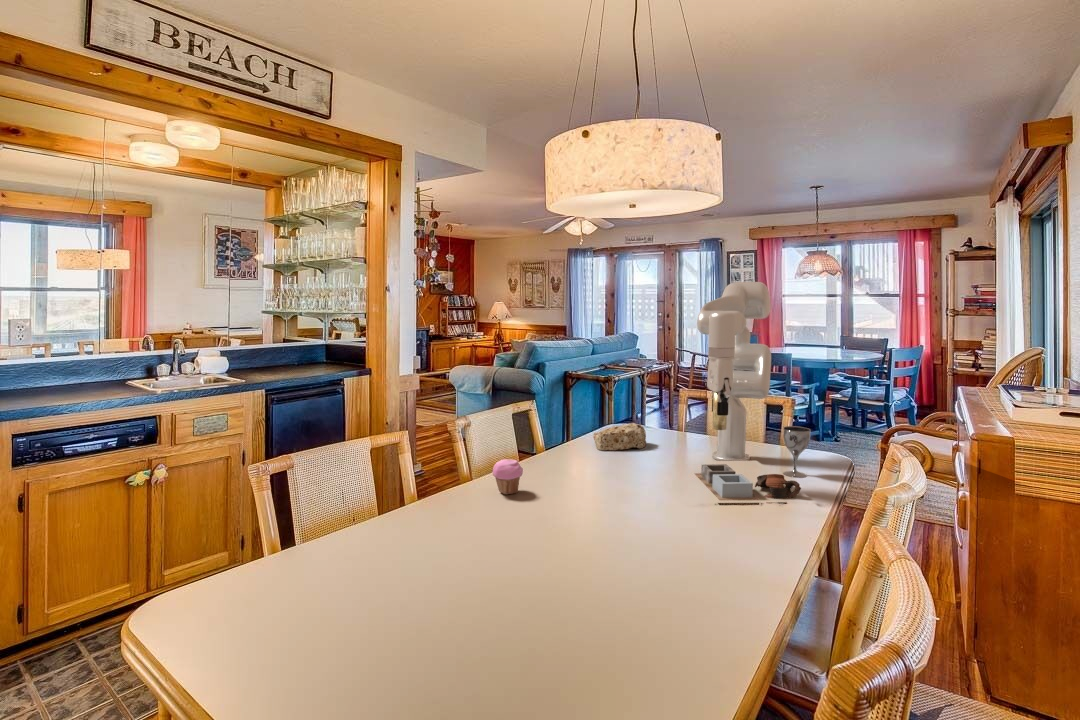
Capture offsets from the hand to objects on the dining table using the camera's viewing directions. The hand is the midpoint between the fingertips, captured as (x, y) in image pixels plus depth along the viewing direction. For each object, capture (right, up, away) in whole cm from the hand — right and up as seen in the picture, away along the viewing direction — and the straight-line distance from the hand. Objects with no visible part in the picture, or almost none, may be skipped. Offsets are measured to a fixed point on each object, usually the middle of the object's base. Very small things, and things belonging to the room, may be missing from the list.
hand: (719, 412), depth 168 cm
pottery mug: (+13, -24, -11) cm, 29 cm away
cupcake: (-64, -23, -5) cm, 68 cm away
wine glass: (+28, -21, +11) cm, 37 cm away
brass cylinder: (0, -5, +1) cm, 5 cm away
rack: (0, -22, -10) cm, 24 cm away
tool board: (0, -23, -4) cm, 23 cm away
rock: (-24, -18, +48) cm, 56 cm away
